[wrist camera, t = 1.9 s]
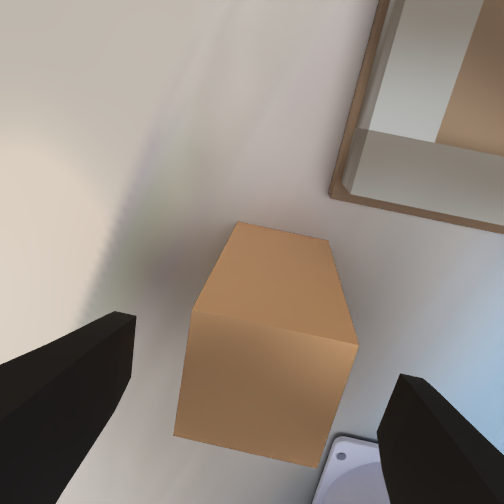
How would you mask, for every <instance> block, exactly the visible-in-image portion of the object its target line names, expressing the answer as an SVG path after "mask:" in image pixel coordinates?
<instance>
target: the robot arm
mask: <svg viewBox="0 0 504 504" xmlns="http://www.w3.org/2000/svg"><path fill="white" fill-rule="evenodd" d="M135 327H136V316H134V315H130V314H125V313H121V312H116V311H114V312H112V313H110V314H107V315H105V316H103V317H101V318H99V319H97V320H95V321H93V322H91V323H89V324H87V325H85V326H83V327H81V328H79V329H77V330H75V331H73V332H71V333H69V334H67V335H65V336H63V337H61V338H59V339H57V340H55V341H53V342H51V343H49V344H47V345H44V346H42V347H40V348H37V349H35V350H33V351H31V352H28V353H26V354H24V355H21V356H19V357H17V358H15V359H12V360H10V361H8V362H6V363H3V364H1V365H0V504H56V502H57V500H58V499H59V497H60V495H61V494H62V492H63V490H64V489H65V487H66V486H67V484H68V483H69V481H70V480H71V478H72V477H73V475H74V473H75V472H76V470H77V469H78V467H79V466H80V464H81V463H82V461H83V460H84V458H85V456H86V455H87V453H88V452H89V450H90V449H91V447H92V446H93V444H94V443H95V441H96V439H97V438H98V436H99V435H100V433H101V432H102V430H103V429H104V427H105V425H106V424H107V422H108V421H109V419H110V417H111V416H112V414H113V413H114V411H115V409H116V407H117V405H118V403H119V401H120V399H121V397H122V395H123V393H124V391H125V389H126V387H127V385H128V382H129V380H130V378H131V372H132V360H133V349H134V338H135ZM377 438H378V444H376V443H372V442H367V441H363V440H358V439H354V438H350V437H345V436H341V437H338V438H336V439H335V440H334V442H333V445H332V447H331V450H330V453H329V456H328V459H327V462H326V465H325V467H324V470H323V473H322V476H321V479H320V482H319V485H318V487H317V490H316V493H315V496H314V499H313V502H312V504H504V455H503V454H502V453H501V452H500V451H499V450H497V449H496V448H495V447H494V446H493V445H492V444H491V443H490V442H489V441H488V440H487V439H486V438H485V437H484V436H483V435H482V434H481V433H480V432H479V431H478V430H477V429H476V428H475V427H474V426H473V425H472V424H470V423H469V422H468V421H467V420H466V419H465V418H464V417H463V416H462V415H461V414H460V413H459V412H458V411H457V410H456V409H455V408H454V407H453V406H452V405H451V404H450V403H449V402H448V401H447V400H446V399H445V398H444V397H443V396H442V395H441V394H440V393H439V392H438V391H437V390H436V389H435V388H433V387H432V386H431V385H430V384H429V383H428V382H427V381H425V380H424V379H423V378H418V377H414V376H409V375H405V374H400V375H399V378H398V380H397V383H396V385H395V388H394V390H393V393H392V395H391V398H390V400H389V403H388V405H387V408H386V410H385V413H384V415H383V417H382V420H381V422H380V425H379V427H378V430H377ZM338 453H343V454H338Z"/></svg>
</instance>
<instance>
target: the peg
mask: <svg viewBox="0 0 504 504" xmlns="http://www.w3.org/2000/svg"><path fill="white" fill-rule="evenodd" d="M358 347H359V343H358V340H357V336H356V333H355V330H354V326H353V323H352V320H351V316H350V313H349V310H348V306H347V303H346V300H345V296H344V293H343V290H342V286H341V283H340V279H339V276H338V273H337V269H336V266H335V263H334V259H333V256H332V253H331V249H330V246H329V243H328V241H327V240H322V239H318V238H313V237H308V236H303V235H299V234H294V233H289V232H284V231H280V230H275V229H270V228H265V227H261V226H256V225H251V224H246V223H242V222H237V224H236V226H235V228H234V230H233V232H232V234H231V236H230V238H229V240H228V241H227V243H226V245H225V247H224V249H223V251H222V253H221V255H220V257H219V259H218V261H217V263H216V264H215V266H214V268H213V270H212V272H211V274H210V276H209V278H208V280H207V282H206V284H205V285H204V287H203V289H202V291H201V293H200V295H199V297H198V299H197V301H196V303H195V305H194V307H193V308H192V314H191V321H190V327H189V334H188V341H187V347H186V354H185V361H184V367H183V374H182V381H181V388H180V394H179V401H178V408H177V414H176V421H175V428H174V434H173V436H177V437H181V438H186V439H190V440H194V441H199V442H203V443H207V444H212V445H216V446H221V447H225V448H229V449H234V450H238V451H242V452H247V453H251V454H256V455H260V456H264V457H269V458H273V459H277V460H282V461H286V462H291V463H295V464H299V465H304V466H308V467H312V468H317V467H318V464H319V461H320V459H321V456H322V453H323V450H324V447H325V444H326V441H327V438H328V435H329V432H330V429H331V426H332V423H333V420H334V418H335V415H336V412H337V409H338V406H339V403H340V400H341V397H342V394H343V391H344V388H345V385H346V382H347V379H348V377H349V374H350V371H351V368H352V365H353V362H354V359H355V356H356V353H357V350H358Z"/></svg>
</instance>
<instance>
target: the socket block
mask: <svg viewBox="0 0 504 504" xmlns="http://www.w3.org/2000/svg"><path fill="white" fill-rule="evenodd" d="M328 194H329V196H330V198H331V199H336V200H341V201H346V202H351V203H355V204H360V205H365V206H370V207H375V208H380V209H384V210H389V211H394V212H399V213H404V214H409V215H413V216H418V217H423V218H428V219H433V220H437V221H442V222H447V223H452V224H457V225H462V226H466V227H471V228H476V229H481V230H486V231H491V232H495V233H500V234H504V0H379V3H378V7H377V11H376V15H375V19H374V22H373V26H372V30H371V34H370V38H369V41H368V45H367V49H366V53H365V57H364V60H363V64H362V68H361V72H360V76H359V79H358V83H357V87H356V91H355V95H354V98H353V102H352V106H351V110H350V114H349V117H348V121H347V125H346V129H345V133H344V136H343V140H342V144H341V148H340V152H339V155H338V159H337V163H336V167H335V171H334V174H333V178H332V182H331V186H330V190H329V193H328Z"/></svg>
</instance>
